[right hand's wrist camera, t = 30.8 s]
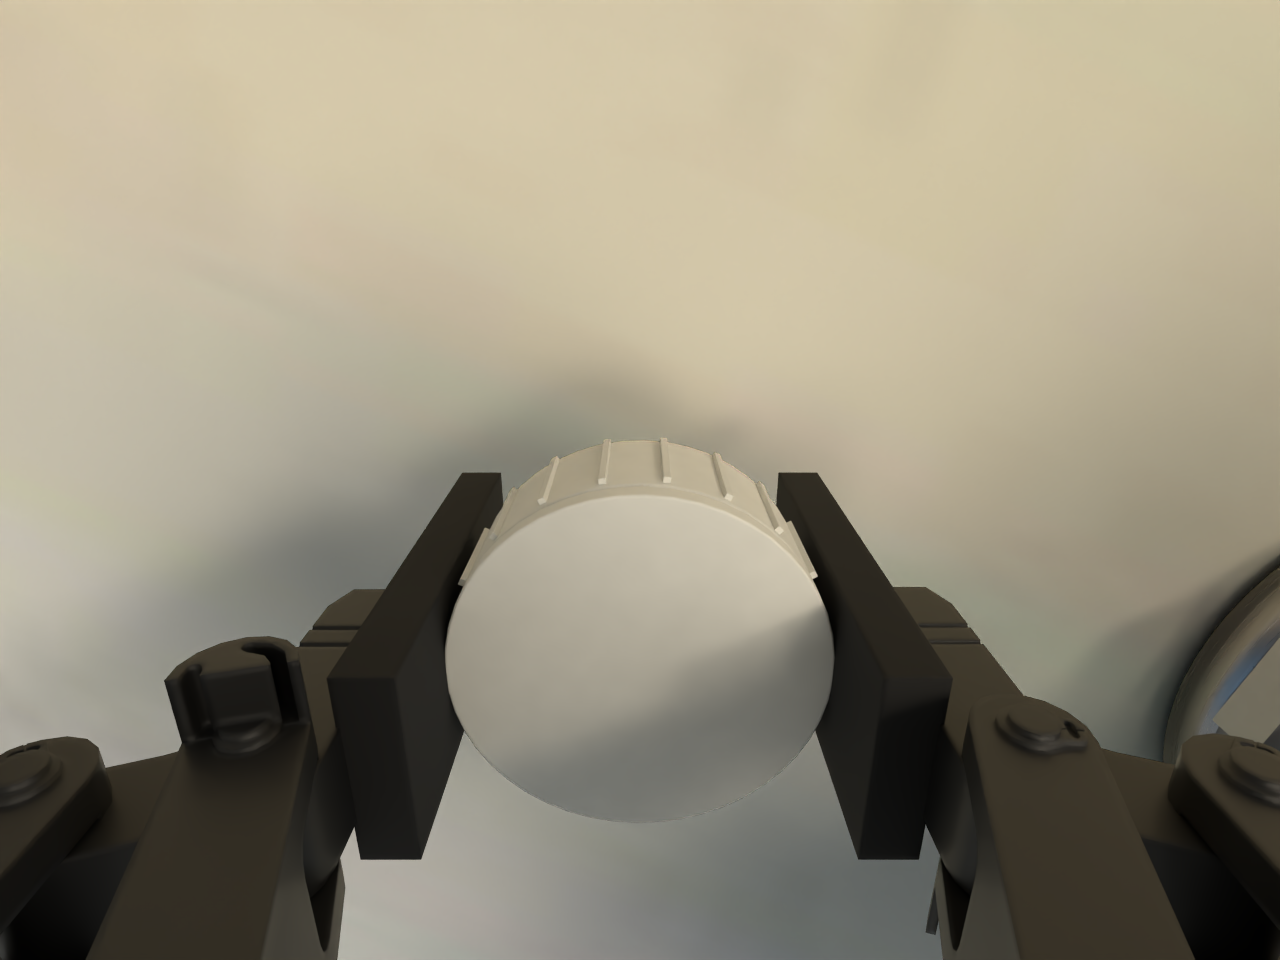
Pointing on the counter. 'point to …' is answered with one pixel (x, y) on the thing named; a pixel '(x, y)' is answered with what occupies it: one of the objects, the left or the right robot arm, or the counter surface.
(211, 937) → the right robot arm
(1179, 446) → the counter surface
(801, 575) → the lid
